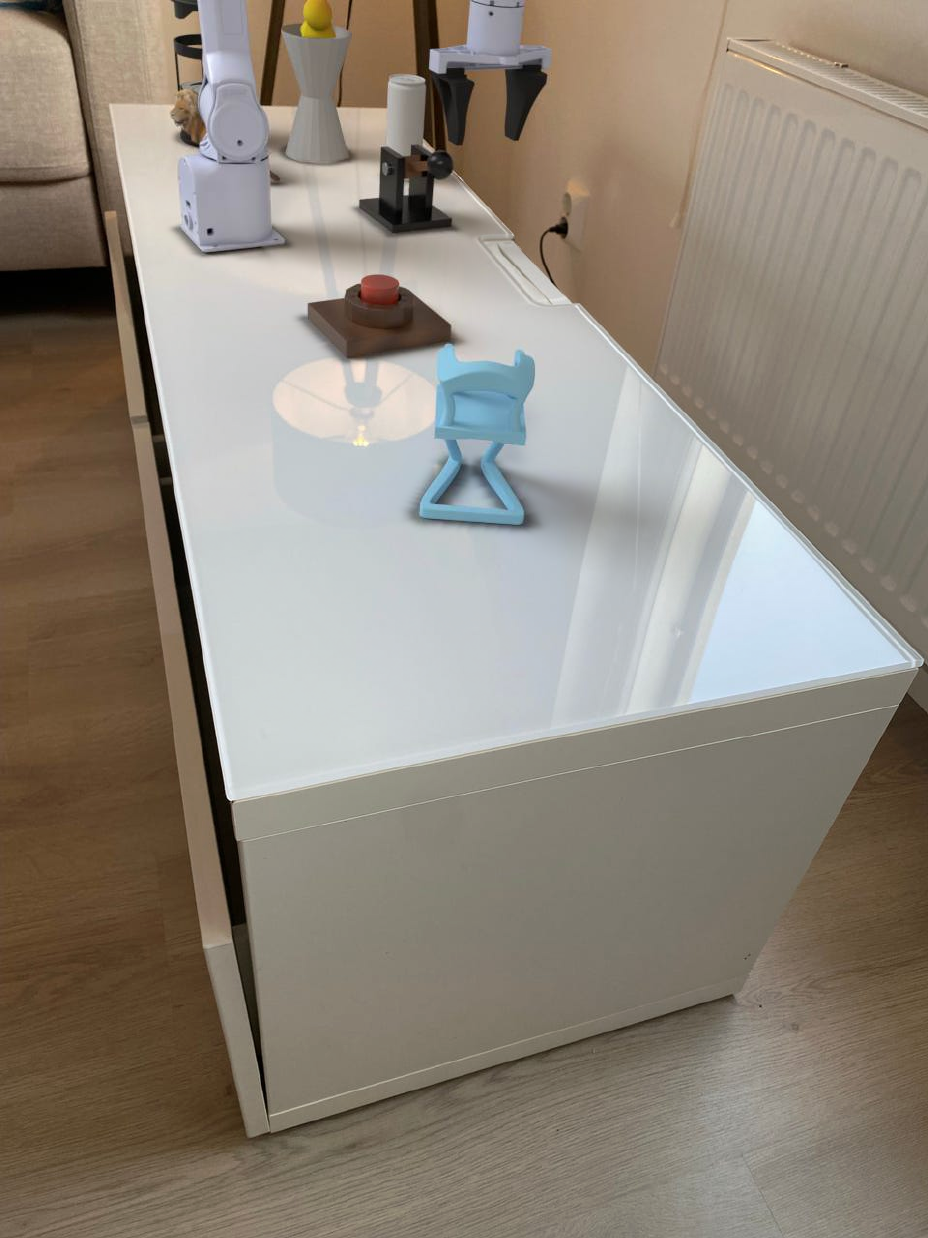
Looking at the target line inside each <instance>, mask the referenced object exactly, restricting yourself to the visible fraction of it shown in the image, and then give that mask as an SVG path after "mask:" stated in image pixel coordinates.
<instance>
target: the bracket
mask: <svg viewBox="0 0 928 1238" xmlns="http://www.w3.org/2000/svg"><path fill="white" fill-rule="evenodd" d="M432 153H433V152H431V151H430V150H428V149H426V148H424V146H423V147H422V146H420V145H418V144H416V145H411V155H410V156H413V155H420V159H421V162H422V161H428V158H429V156H430V155H431V154H432ZM379 155H380V156H379V182H378V183H379V188H378V197H371V198H362V199H358V208H359V209H360V210H361V211H362V212H364V213H365V214H367V215H368V216H369V217H371V218H372V219H373V220H374V221H376V222H377V223H378V224H379V225H381V226H382V227H384V228H385V229H386V230H387V231H389V232H390V233H391V234H399V233H407V232H409V233H410V232H416V231H425V230H435V229H443V228H451V227H452V226H453V225H452V224H453V218H452V217H451V216H449V215H447V214H446V213H444V212H443V211H442V210H440V208H438V207H436V206H435V205H433V203H434V188H435V178H433V177H432V176H431V175H430V174H429V172H428V171H421V172H422V177H421V178H409V182H408V192H407V193H408V194H404V193H405V182H404V176H405V157H404V156H402V155H400V154H399V153H397V152H396V151H394V150H393V149H391V148H390V147H388V146H386V145H385V146H380V153H379Z"/></svg>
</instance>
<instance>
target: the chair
mask: <svg viewBox="0 0 928 1238" xmlns="http://www.w3.org/2000/svg"><path fill="white" fill-rule="evenodd" d="M436 374H437V380H438V382H439V384H436V392H435V393H436V394H435V416H434V417H435V418H434V437H433V438H434V439H437V440H444V443H445V446H446V449H447V451H448V455H449V456H448V459H447V461H446V463H445V464H444V466H443V467H442V469H441V471H440V472H439V473H438V475H437V476H436V478H435V479H434V480H433V482H432V483H431V484H430V486H429V488H428V489H427V490H426V492H425V493H424V495H423V497H422V499H421V500H420V503H419V516H420V517H421V518H423V519H432V520H443V521H444V520H446V521H459V522H471V523H472V522H473V523H474V522H475V523H487V524H499V525H500V524H501V525H515V526H520V525H522V524H523V523H524V518H525V509H524V508H523V504H522V503H521V502H520V500H519V498H518V496H517V495H516V493H515V492H514V490H513V489H512V488H511V486H510V485H509V483H508V482H507V480H506V479H505V476H503V473H502V472H501V470H500V469H499V467H498V465H497V463H496V457H497V456H498V454H499V453H500V452H501V450H502V448H503V447H504V446H505V445H515V446H526V439H527V427H526V419H525V411H524V409H525V408H524V403H525V402H526V400H527V398H528V396H529V394H530V392H531V391H532V389H533V388H534V385H535V379H536V364H535V359H534V358H533V357H532V356H531V355H528V354H526V353H525V352H524V350H522V349H516V350H515V352H514V362H513V365H508V364H505V363H500V362H497V361H492V360H476V361H460V360H459V359H457V357H456V348H455V346H454V345H453V344H452V343H446V344H445V345H444V347H442V348H440V349H439V350H438V352H437V356H436ZM458 440H459V441H460V440H461V441H463V440H473V441H474V440H477V441H489V442H491V443H490V444H489V446H488V447H487V449H485V451H484V452H483V454H482V456H481V461H480V468H481V471H482V474H483V476H484V477H485V479H486V480H487V482H488V483H489V485H490V486H491V488H492V489H493V490H494V492H495V493H496V495H497V497H498V498H499V499H500V501H501V502H502V503H503V505H504V506H505V508H506V509H503V508H491V507H479V506H478V507H477V506H464V505H452V504H441V503H437V502H438V501H439V499H440V498H441V496H442V495H443V494H444V493H445V491H446V490H447V488H449V486H450V485H451V483H452V482H453V480H454V479H455V478H456V476H457V475H458V473H459V472H460V470H461V466H462V457H463V453H462V452H461V449H460V447H459V444H458Z"/></svg>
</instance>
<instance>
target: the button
mask: <svg viewBox="0 0 928 1238" xmlns="http://www.w3.org/2000/svg"><path fill="white" fill-rule="evenodd" d="M360 283H361V300H362V301H364V302H367V303H370V304H376V305H390V304H395V303H397V302H398V300H399V286H400V282H399V280H398V279H397V278H396V277H394V276H391V275H387V274H377V273H376V274H369V275H365V276H364V277H362V278H361V280H360Z"/></svg>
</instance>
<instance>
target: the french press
mask: <svg viewBox="0 0 928 1238" xmlns="http://www.w3.org/2000/svg"><path fill="white" fill-rule="evenodd" d="M170 1H171V2H172V3H173V10H174V17H175V18H176V19H178V20H185V19H186V18H187V17H188V16H190V15H191V14H192V13H193V12H199V11H198V2H197V0H170ZM172 39H173V51H174V63H175V74H176V86H177V87H176V88H177V92H178V91H181V90H183V89H189V90H192V91H196V92H197V93H198V94H199V92H200V89H201V86H202V83H203V78H204V76H203V64H202V56H203V47H202V48H200V47H193V46H202V37H201V33H189V34H188V33H187V34H181V35H177V36H175V37H173V38H172ZM178 56H181V57H184V58H188V59H193V60H199V61H201V63H200V64H201V75H202V80H200V79H199V80H191V81H186V82H183V83H181V82H180V71H179V70H180V69H179V60H178ZM180 83H181V84H180ZM179 138H180V140H181V141H182V142H184V143H185V144H187V145H190V146H192V147H197V148H200V144H198V143H196V142H194V141H192V138H191V136H190V135H189V134H188V133H186V132H185V131H184V130H183V129H182V128H181V127H180V132H179Z"/></svg>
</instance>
